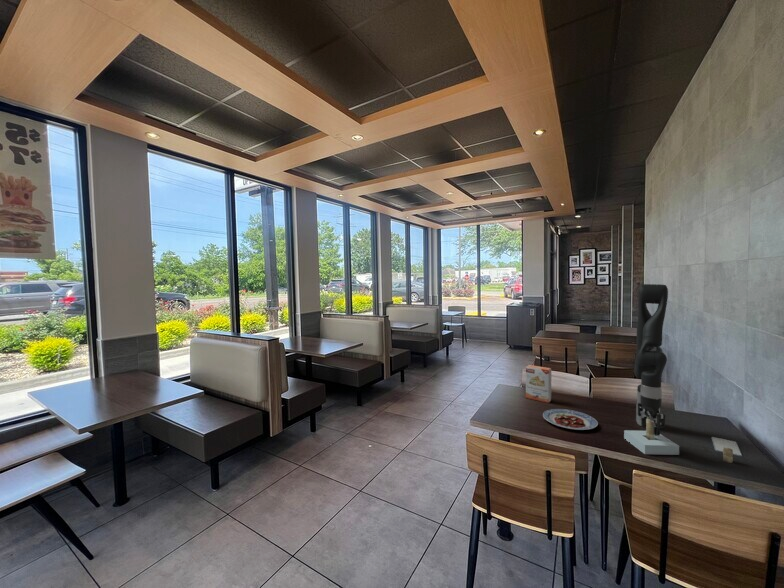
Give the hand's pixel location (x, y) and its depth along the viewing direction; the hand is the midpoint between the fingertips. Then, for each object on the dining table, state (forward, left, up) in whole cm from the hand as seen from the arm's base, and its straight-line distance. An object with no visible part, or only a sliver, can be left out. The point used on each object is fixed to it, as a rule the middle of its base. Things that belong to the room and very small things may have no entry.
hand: (650, 431), depth 147 cm
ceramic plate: (-25, -24, -8) cm, 35 cm away
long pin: (0, 0, -7) cm, 7 cm away
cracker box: (-58, -28, -7) cm, 65 cm away
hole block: (0, 0, -7) cm, 7 cm away
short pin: (+11, +23, -7) cm, 26 cm away
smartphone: (-1, +33, -8) cm, 34 cm away
